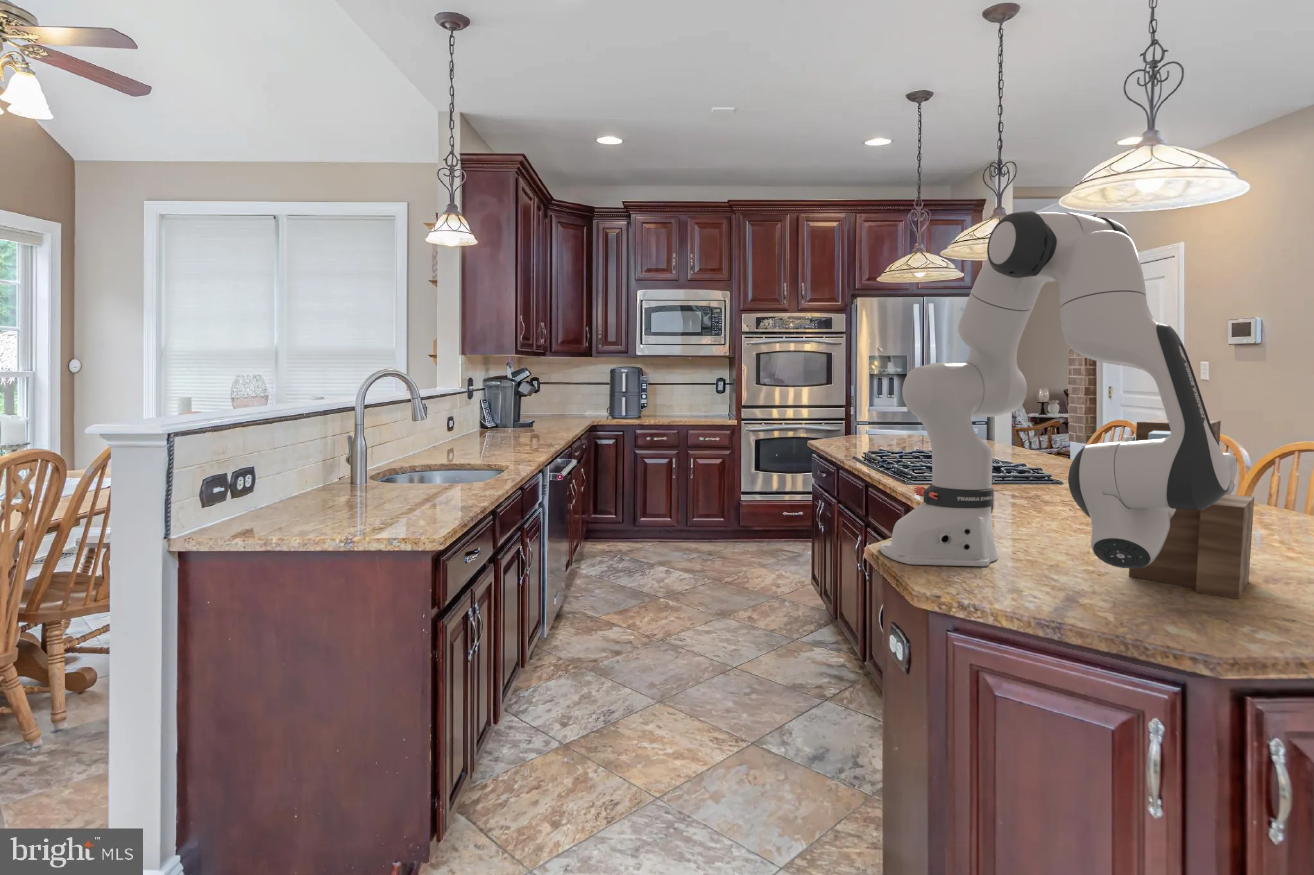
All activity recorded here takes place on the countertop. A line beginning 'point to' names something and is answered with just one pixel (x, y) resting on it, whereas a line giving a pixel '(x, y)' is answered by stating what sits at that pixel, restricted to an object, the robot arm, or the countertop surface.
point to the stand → (1204, 539)
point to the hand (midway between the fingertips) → (1163, 441)
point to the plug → (1158, 434)
